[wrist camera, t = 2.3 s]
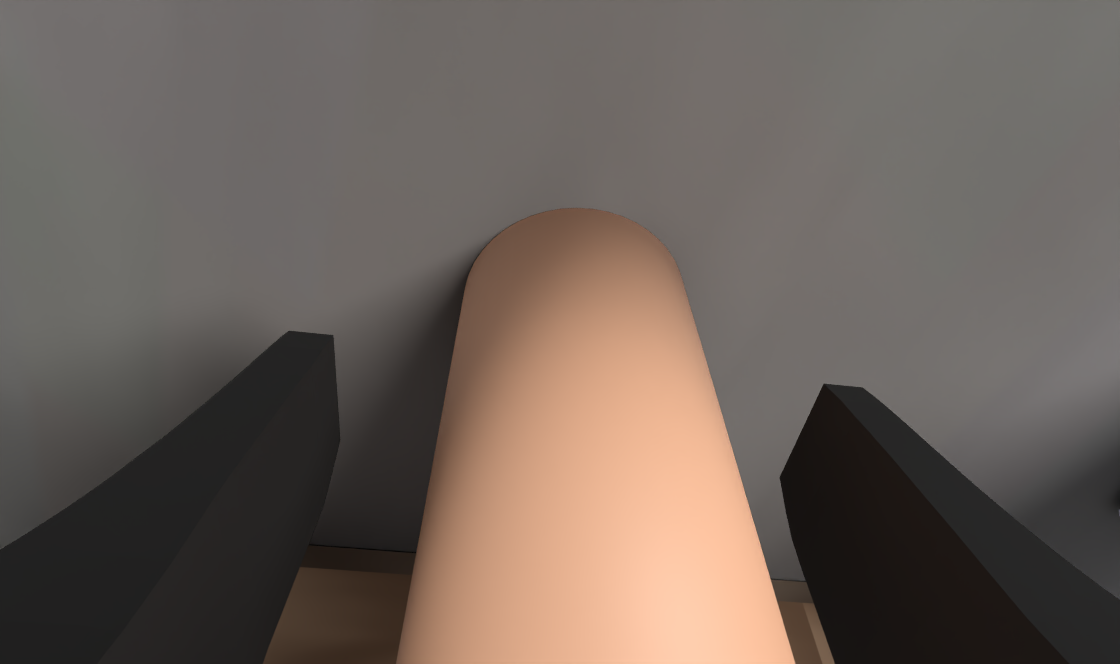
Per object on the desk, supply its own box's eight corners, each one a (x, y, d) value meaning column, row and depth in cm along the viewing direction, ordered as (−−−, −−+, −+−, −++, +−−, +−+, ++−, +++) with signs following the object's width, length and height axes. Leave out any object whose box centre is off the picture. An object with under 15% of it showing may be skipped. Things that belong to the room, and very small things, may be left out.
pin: (709, 222, 12) (912, 717, 5) (657, 401, 14) (750, 895, 7) (470, 194, 11) (364, 687, 5) (457, 381, 14) (374, 884, 7)
